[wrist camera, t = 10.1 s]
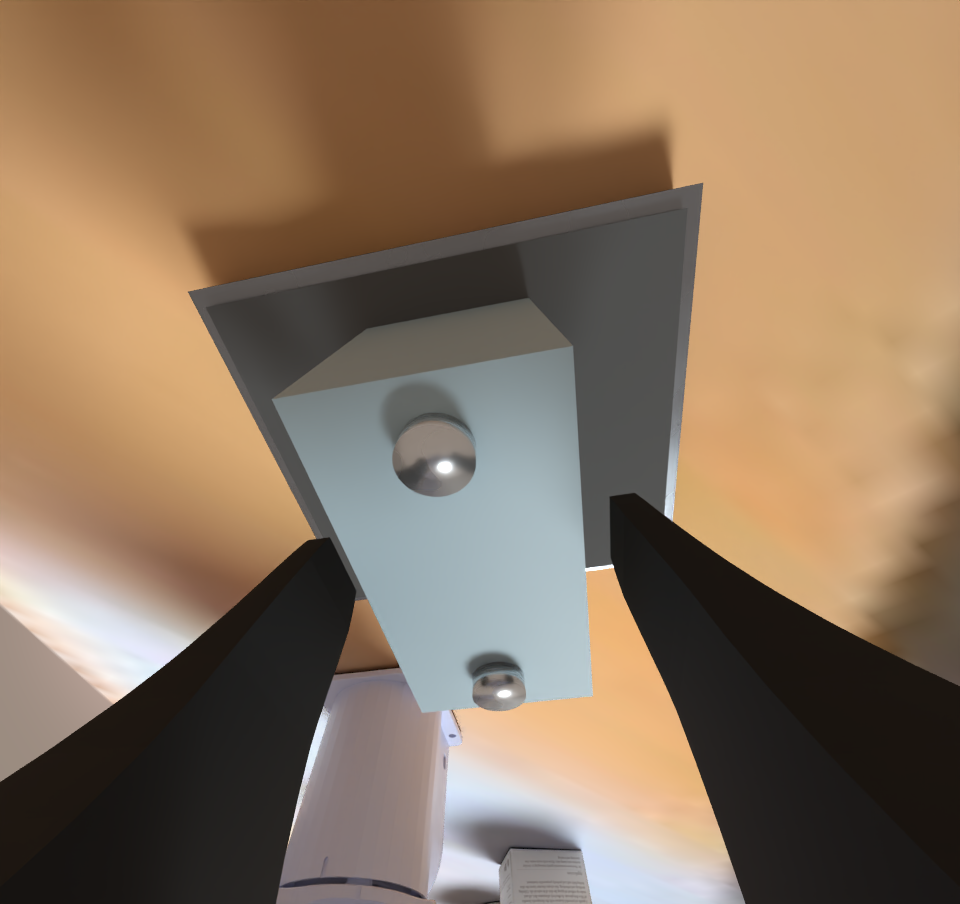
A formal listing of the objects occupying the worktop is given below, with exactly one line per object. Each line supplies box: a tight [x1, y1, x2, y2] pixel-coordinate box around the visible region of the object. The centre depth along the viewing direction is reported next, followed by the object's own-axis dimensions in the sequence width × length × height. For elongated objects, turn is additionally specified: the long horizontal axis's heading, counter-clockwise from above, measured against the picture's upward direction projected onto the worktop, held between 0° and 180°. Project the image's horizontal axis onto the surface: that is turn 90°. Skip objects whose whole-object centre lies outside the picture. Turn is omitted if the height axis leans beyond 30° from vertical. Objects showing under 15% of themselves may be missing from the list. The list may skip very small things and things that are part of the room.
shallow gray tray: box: [188, 183, 703, 601], centre depth 15 cm, size 14×15×2 cm
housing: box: [272, 298, 593, 713], centre depth 11 cm, size 10×5×6 cm, turn 10°
